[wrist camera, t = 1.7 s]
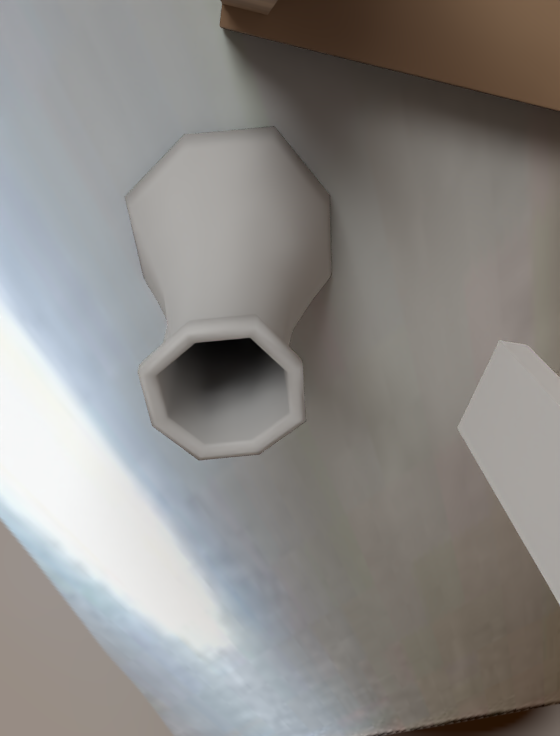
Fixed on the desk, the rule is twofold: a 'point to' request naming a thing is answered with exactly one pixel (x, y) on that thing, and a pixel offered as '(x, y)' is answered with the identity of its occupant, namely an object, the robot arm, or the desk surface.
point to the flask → (229, 286)
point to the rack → (424, 39)
